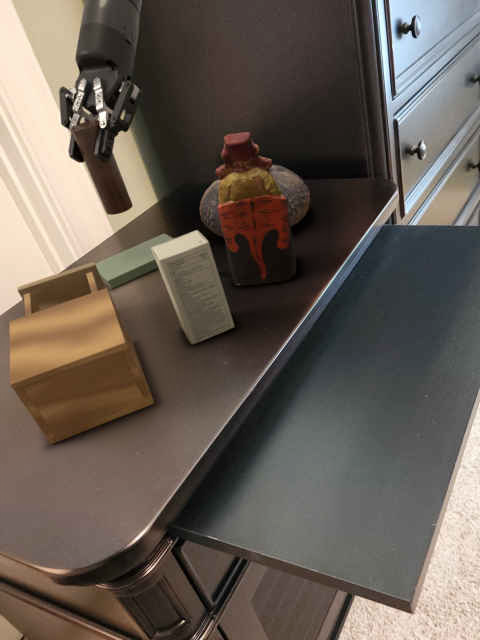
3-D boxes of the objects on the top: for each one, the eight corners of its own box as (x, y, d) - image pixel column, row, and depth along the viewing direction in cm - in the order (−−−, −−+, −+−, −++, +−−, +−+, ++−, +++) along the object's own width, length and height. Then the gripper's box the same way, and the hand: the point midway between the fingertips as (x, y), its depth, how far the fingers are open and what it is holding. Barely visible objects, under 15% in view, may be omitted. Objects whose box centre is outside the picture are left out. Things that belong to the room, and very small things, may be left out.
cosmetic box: (224, 313, 71) (199, 228, 63) (236, 328, 68) (210, 240, 60) (181, 330, 69) (149, 245, 61) (190, 346, 66) (158, 259, 58)
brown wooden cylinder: (101, 215, 80) (65, 131, 72) (112, 204, 83) (79, 122, 75) (126, 213, 79) (92, 127, 71) (136, 202, 82) (105, 118, 74)
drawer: (40, 315, 77) (16, 274, 72) (109, 291, 79) (90, 250, 75) (46, 375, 65) (18, 330, 60) (128, 345, 67) (106, 300, 62)
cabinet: (44, 377, 66) (9, 321, 61) (133, 344, 69) (107, 287, 63) (51, 444, 56) (9, 384, 51) (154, 403, 59) (125, 342, 53)
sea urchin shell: (237, 196, 101) (233, 141, 94) (326, 217, 95) (329, 160, 88) (182, 239, 89) (172, 180, 82) (280, 266, 84) (279, 205, 76)
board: (111, 289, 82) (107, 280, 81) (93, 274, 87) (89, 265, 86) (188, 253, 87) (185, 245, 86) (167, 241, 92) (164, 233, 91)
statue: (302, 256, 80) (277, 112, 66) (298, 283, 74) (270, 131, 60) (225, 265, 81) (187, 126, 68) (216, 291, 76) (171, 146, 62)
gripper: (50, 26, 73) (30, 148, 73) (129, 13, 67) (107, 145, 68) (91, 61, 80) (73, 172, 80) (165, 51, 74) (145, 171, 75)
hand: (89, 159), depth 74 cm, fingers closed on brown wooden cylinder, 4 cm apart
